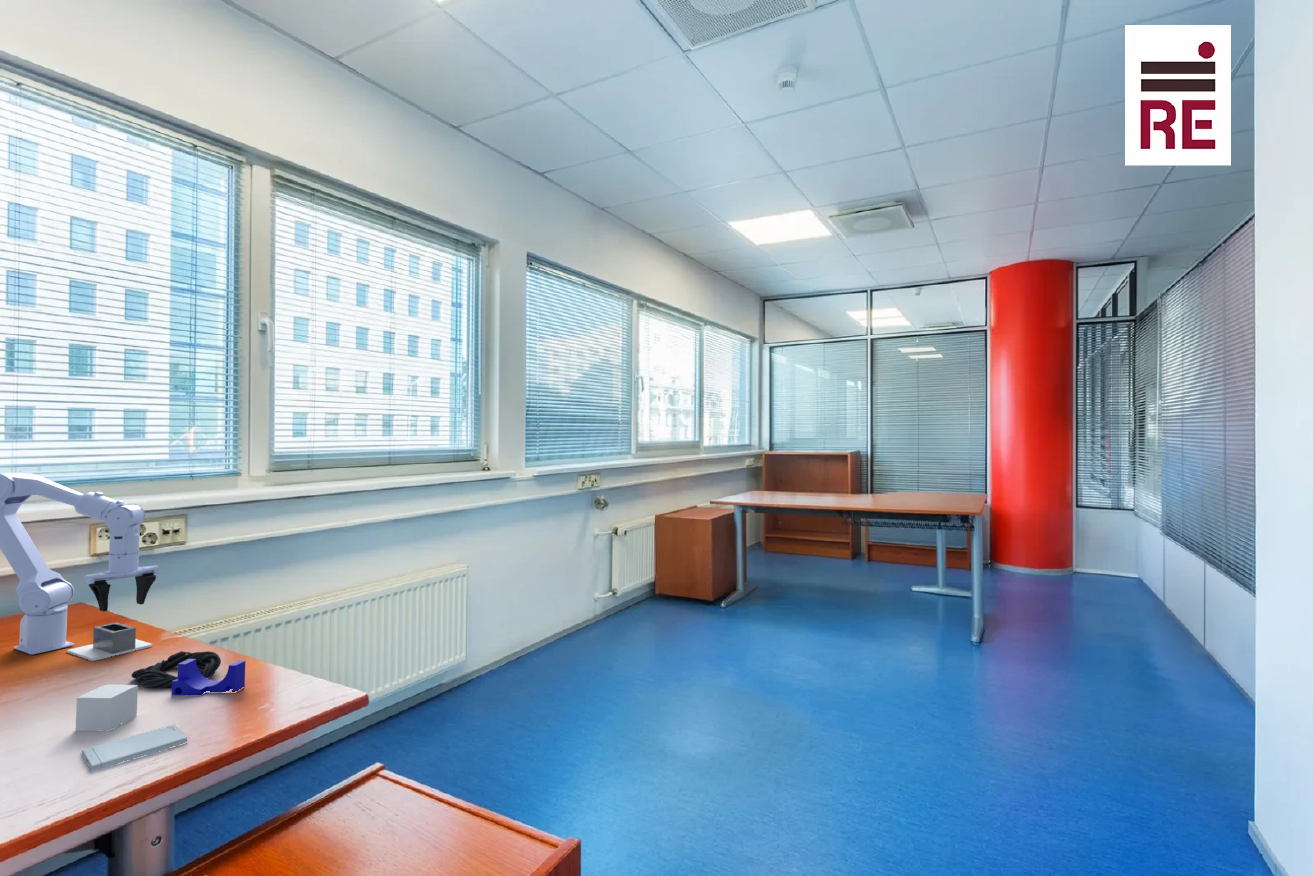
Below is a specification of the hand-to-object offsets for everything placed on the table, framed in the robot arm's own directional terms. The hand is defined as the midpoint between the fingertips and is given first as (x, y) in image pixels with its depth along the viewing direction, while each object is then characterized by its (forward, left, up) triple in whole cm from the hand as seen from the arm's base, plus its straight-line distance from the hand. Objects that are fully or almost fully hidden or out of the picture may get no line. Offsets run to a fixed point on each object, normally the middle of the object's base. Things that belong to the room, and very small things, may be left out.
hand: (122, 607), depth 155 cm
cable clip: (+49, -6, -10) cm, 50 cm away
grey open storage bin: (+4, -3, -9) cm, 10 cm away
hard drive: (+63, -26, -10) cm, 69 cm away
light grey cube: (+48, -23, -10) cm, 54 cm away
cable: (+35, -5, -10) cm, 36 cm away
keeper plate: (+2, -3, -9) cm, 10 cm away
